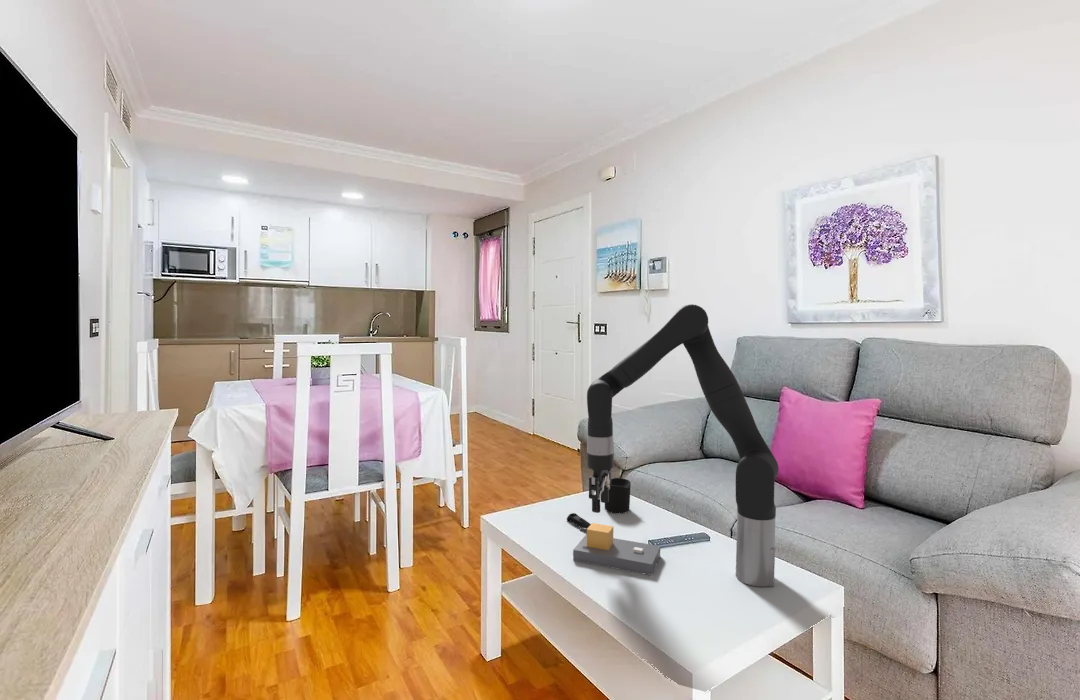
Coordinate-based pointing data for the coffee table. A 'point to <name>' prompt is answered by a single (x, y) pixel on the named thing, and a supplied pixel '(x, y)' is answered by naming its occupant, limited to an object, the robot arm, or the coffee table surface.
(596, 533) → the plug
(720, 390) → the robot arm
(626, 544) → the socket board
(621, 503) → the pen holder
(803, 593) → the coffee table surface
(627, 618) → the coffee table surface
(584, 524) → the electric trimmer
